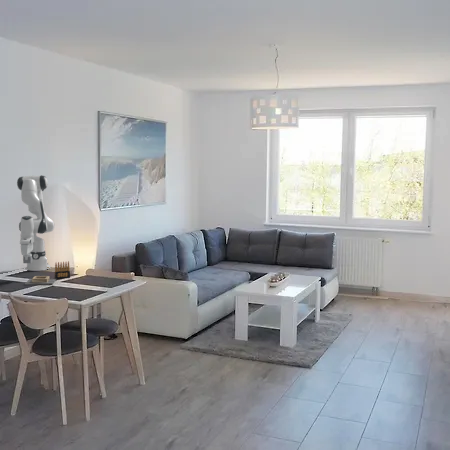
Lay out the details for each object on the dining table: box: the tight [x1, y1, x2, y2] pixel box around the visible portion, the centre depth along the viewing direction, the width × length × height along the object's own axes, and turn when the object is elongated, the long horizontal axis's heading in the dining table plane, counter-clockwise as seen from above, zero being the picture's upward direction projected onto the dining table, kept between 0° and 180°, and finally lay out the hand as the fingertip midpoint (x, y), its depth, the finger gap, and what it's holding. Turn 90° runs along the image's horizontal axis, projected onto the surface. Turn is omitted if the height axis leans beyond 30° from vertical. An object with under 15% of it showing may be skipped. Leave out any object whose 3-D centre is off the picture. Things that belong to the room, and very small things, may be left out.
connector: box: [22, 254, 32, 264], centre depth 413 cm, size 4×5×6 cm
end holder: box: [24, 275, 57, 286], centre depth 405 cm, size 16×18×4 cm
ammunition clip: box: [54, 260, 71, 280], centre depth 421 cm, size 11×2×12 cm, turn 120°
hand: (27, 259), depth 413 cm, fingers closed on connector, 4 cm apart
